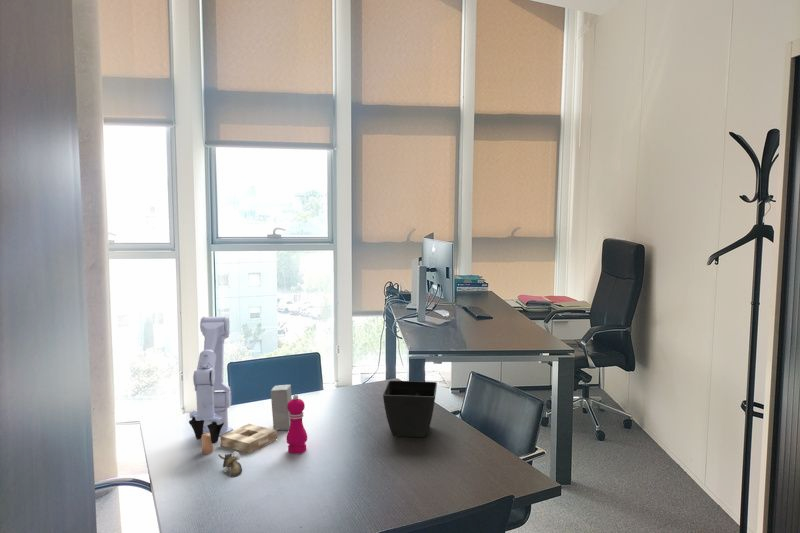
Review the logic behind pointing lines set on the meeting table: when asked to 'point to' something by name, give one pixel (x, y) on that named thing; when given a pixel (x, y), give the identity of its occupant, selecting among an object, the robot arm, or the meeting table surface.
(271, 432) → the bore block
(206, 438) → the peg
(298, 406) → the pepper mill
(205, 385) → the robot arm
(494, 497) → the meeting table surface
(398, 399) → the flower pot
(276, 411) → the skincare box
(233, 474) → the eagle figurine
